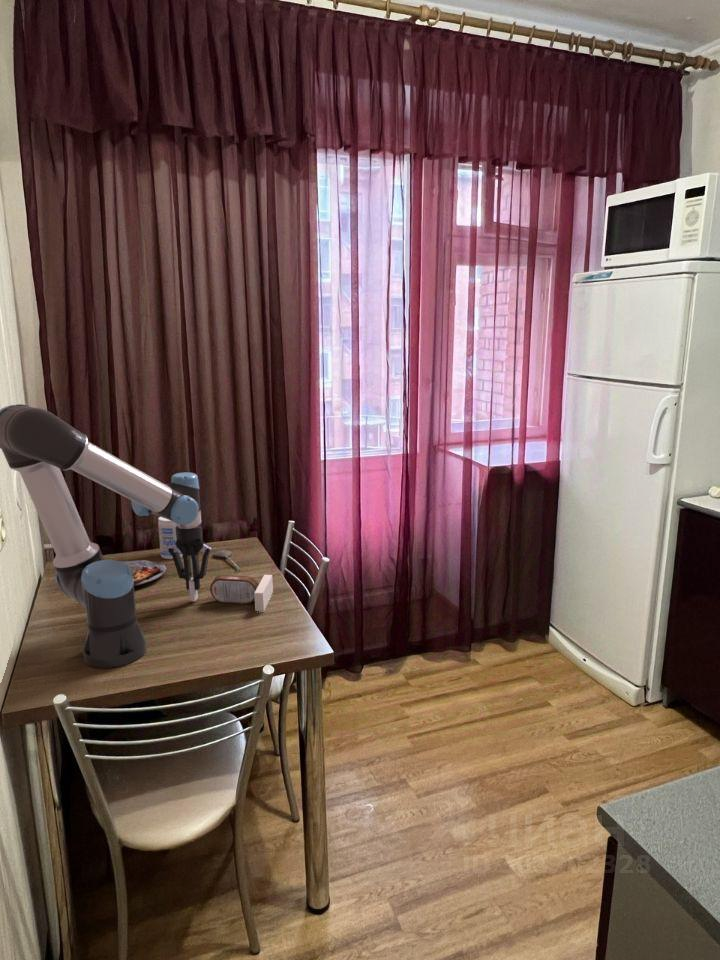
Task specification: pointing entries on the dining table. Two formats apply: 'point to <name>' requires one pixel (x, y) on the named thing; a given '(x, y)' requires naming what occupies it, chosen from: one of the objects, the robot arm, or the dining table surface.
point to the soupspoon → (226, 556)
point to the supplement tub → (167, 537)
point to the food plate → (146, 571)
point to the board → (263, 593)
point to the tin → (234, 589)
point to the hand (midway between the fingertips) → (194, 599)
